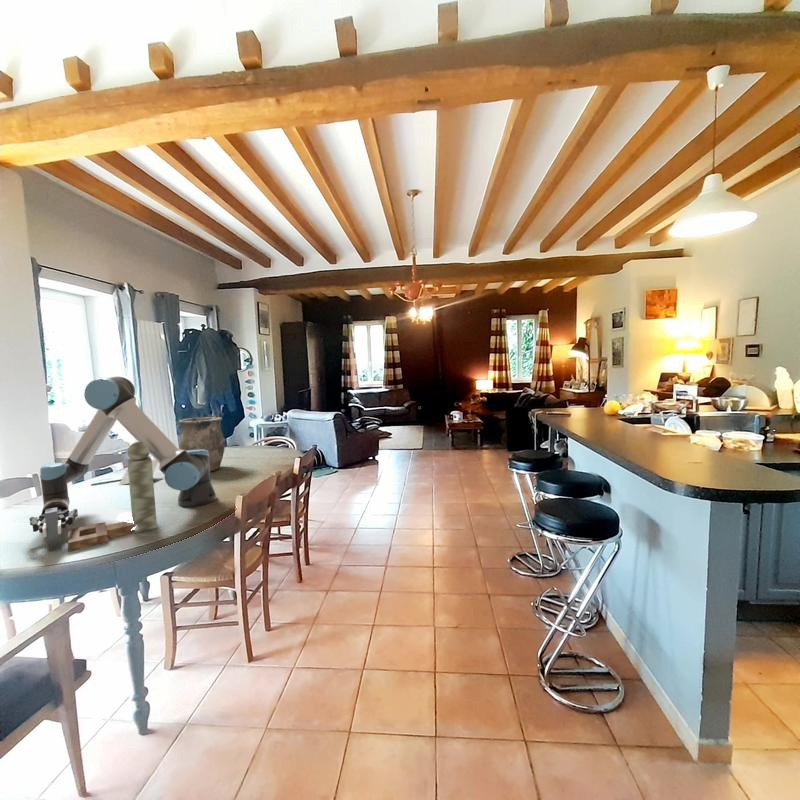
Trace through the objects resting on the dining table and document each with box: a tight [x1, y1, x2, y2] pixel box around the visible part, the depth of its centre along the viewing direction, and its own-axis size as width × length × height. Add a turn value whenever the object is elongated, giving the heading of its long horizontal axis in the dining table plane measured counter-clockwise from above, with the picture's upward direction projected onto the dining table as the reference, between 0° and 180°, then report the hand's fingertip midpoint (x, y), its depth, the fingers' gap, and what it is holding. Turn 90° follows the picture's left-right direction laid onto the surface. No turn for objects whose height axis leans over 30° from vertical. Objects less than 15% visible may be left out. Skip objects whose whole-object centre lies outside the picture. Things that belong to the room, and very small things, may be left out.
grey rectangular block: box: [45, 507, 62, 552], centre depth 138 cm, size 3×5×13 cm, turn 38°
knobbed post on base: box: [67, 441, 158, 553], centre depth 147 cm, size 26×14×32 cm, turn 128°
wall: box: [118, 459, 159, 486], centre depth 218 cm, size 16×9×15 cm
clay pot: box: [178, 416, 226, 473], centre depth 234 cm, size 22×23×30 cm
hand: (51, 531), depth 134 cm, fingers closed on grey rectangular block, 3 cm apart
